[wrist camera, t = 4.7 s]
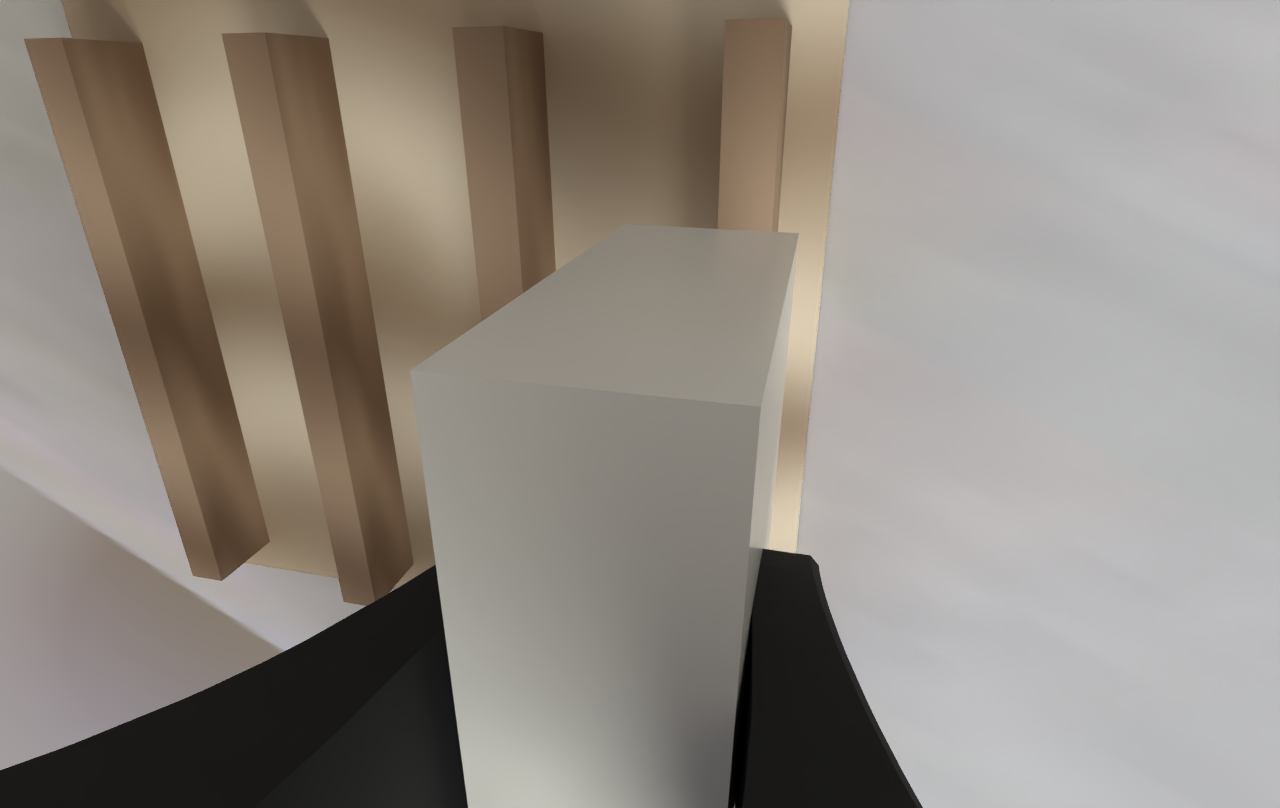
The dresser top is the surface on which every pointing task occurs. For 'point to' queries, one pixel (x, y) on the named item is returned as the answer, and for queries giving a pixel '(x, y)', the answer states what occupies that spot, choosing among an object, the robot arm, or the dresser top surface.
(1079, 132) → the dresser top surface
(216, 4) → the dish rack
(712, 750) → the cream slab
